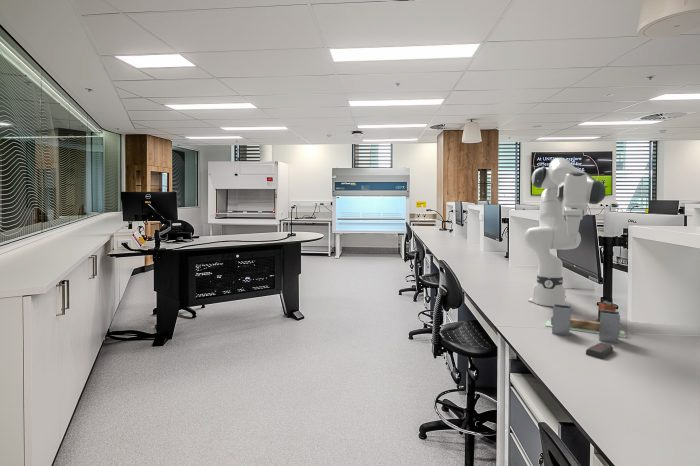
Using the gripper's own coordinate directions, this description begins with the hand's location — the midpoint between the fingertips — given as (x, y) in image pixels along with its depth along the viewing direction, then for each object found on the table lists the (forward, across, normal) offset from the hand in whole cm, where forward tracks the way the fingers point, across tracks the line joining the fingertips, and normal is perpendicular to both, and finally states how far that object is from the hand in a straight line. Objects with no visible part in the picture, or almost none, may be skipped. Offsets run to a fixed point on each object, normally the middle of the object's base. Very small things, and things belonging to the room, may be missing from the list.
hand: (572, 243), depth 175 cm
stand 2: (+34, +16, +14) cm, 40 cm away
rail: (+34, +6, +6) cm, 35 cm away
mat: (+34, +6, +6) cm, 35 cm away
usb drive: (+35, +33, +11) cm, 49 cm away
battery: (+34, -6, +14) cm, 38 cm away
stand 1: (+34, +16, -2) cm, 38 cm away
